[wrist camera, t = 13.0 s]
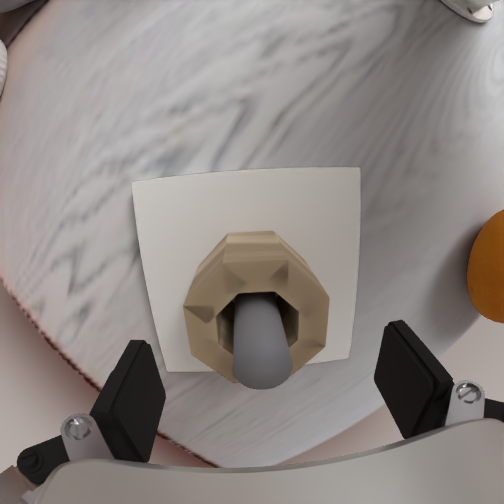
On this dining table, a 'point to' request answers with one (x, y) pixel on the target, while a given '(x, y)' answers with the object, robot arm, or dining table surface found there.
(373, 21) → the dining table surface
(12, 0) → the coffee pot
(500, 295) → the fruit
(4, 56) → the ramekin
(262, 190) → the post board
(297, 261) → the bead
